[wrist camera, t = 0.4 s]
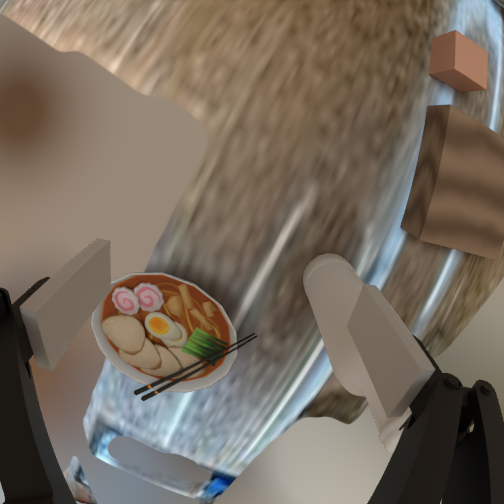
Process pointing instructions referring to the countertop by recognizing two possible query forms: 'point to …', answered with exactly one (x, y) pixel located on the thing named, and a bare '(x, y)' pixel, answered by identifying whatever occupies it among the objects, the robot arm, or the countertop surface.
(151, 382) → the ramen bowl
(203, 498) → the countertop surface
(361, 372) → the bottle
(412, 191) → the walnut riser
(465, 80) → the terracotta cube
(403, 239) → the countertop surface
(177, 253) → the countertop surface
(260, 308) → the countertop surface
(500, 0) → the teacup
